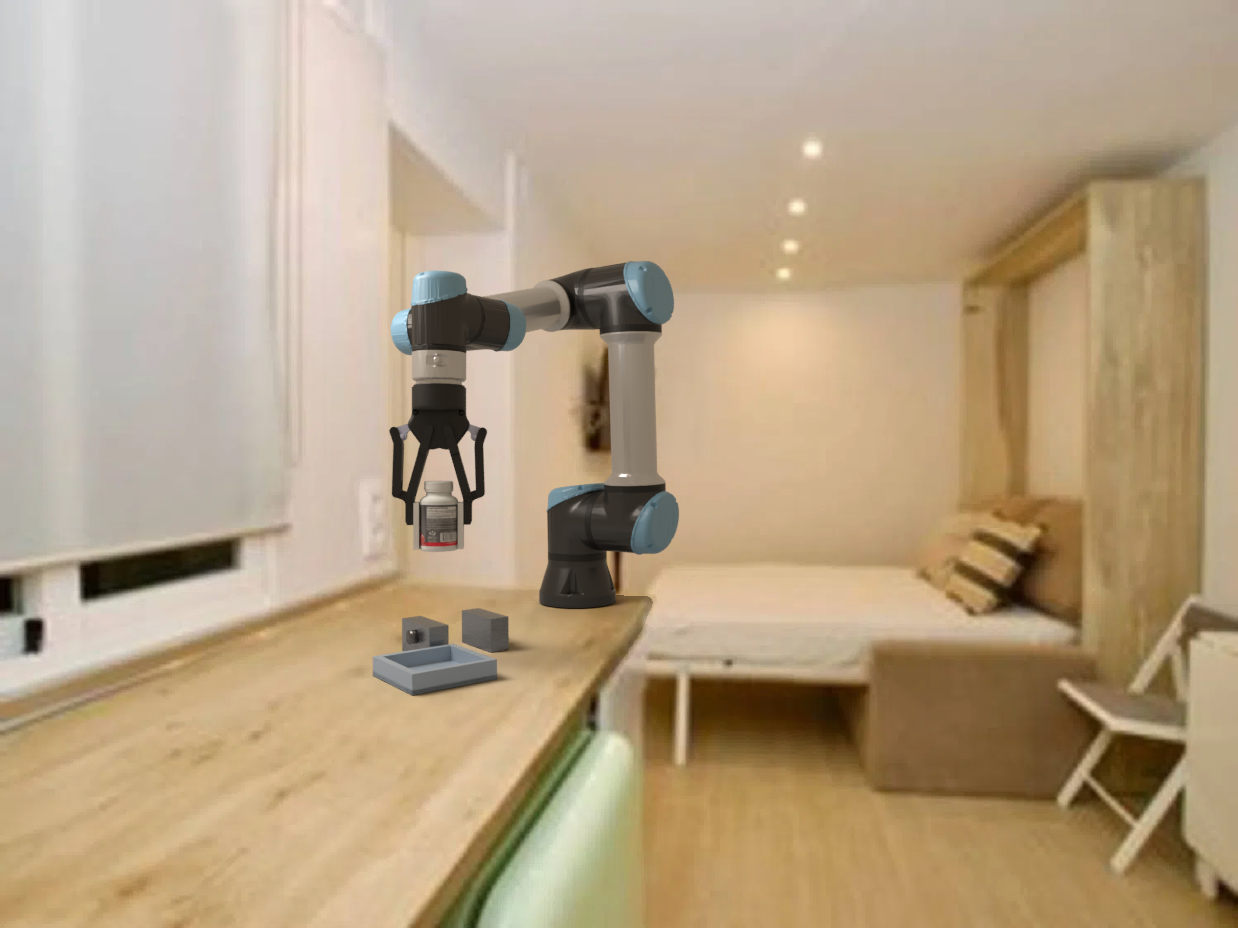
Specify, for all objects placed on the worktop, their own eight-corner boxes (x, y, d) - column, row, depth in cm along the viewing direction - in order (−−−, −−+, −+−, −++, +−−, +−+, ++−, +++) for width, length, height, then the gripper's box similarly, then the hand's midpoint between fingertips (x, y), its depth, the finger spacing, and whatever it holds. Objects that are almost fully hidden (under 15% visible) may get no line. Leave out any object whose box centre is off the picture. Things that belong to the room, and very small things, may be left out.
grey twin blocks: (484, 638, 139) (484, 607, 139) (514, 648, 132) (514, 615, 132) (395, 652, 129) (395, 618, 129) (423, 664, 122) (422, 628, 122)
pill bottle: (421, 548, 125) (421, 480, 125) (459, 548, 126) (459, 480, 125) (417, 552, 119) (418, 481, 119) (457, 552, 120) (457, 481, 120)
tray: (453, 661, 124) (453, 643, 124) (497, 678, 114) (496, 659, 114) (372, 675, 116) (372, 656, 116) (412, 695, 107) (412, 674, 107)
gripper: (367, 380, 117) (367, 552, 118) (505, 382, 120) (504, 550, 120) (375, 384, 125) (375, 546, 125) (504, 386, 127) (504, 544, 127)
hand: (439, 548), depth 122 cm, fingers closed on pill bottle, 5 cm apart
